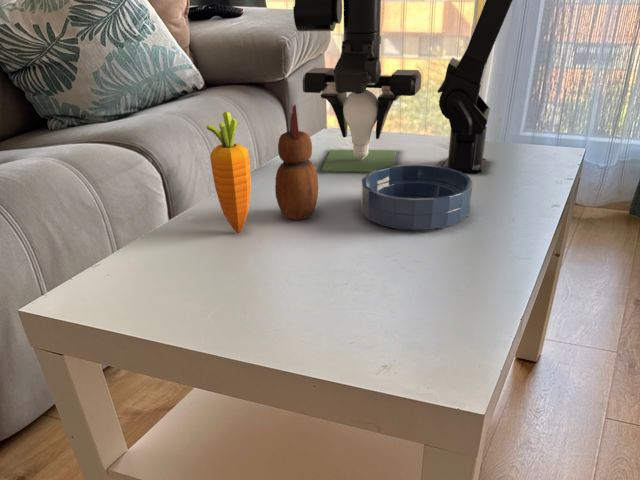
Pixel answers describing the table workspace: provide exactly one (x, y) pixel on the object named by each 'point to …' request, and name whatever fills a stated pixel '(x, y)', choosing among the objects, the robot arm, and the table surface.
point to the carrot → (231, 173)
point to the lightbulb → (361, 120)
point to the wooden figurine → (296, 173)
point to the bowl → (416, 196)
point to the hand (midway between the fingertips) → (361, 137)
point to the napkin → (358, 161)
